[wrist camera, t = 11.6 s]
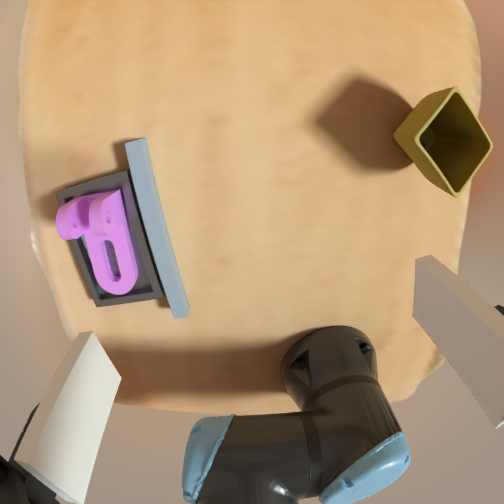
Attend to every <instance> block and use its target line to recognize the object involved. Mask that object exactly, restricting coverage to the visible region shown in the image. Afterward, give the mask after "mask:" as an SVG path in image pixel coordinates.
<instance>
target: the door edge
mask: <svg viewBox="0 0 504 504" xmlns="http://www.w3.org/2000/svg"><path fill="white" fill-rule="evenodd" d="M124 144H125V148H126V153H127V157H128V162H129V166H130V171H131V175H132V179H133V183H134V187H135V191H136V195H137V199H138V203H139V207H140V210H141V214H142V218H143V222H144V225H145V229H146V232H147V236H148V239H149V243H150V246H151V249H152V253H153V256H154V259H155V262H156V266H157V269H158V272H159V275H160V278H161V281H162V284H163V287H164V290H165V293H166V296H167V299H168V302H169V305H170V308H171V311H172V314H173V316H174V319H175V318H182V317H188V313H189V308H190V306H189V302H188V299H187V296H186V293H185V289H184V286H183V283H182V279H181V276H180V273H179V269H178V266H177V262H176V259H175V255H174V252H173V248H172V245H171V241H170V237H169V233H168V230H167V226H166V222H165V218H164V214H163V210H162V206H161V202H160V198H159V194H158V190H157V186H156V182H155V177H154V173H153V168H152V164H151V159H150V155H149V150H148V145H147V141H146V138H143V139H138V140H135V141H131V142H128V143H124Z"/></svg>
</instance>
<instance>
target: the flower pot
mask: <svg viewBox="0 0 504 504" xmlns="http://www.w3.org/2000/svg"><path fill="white" fill-rule="evenodd" d="M393 138H394V139H395V141H396V142H397V143H398V144H399V145H400V146H401V148H402V149H403V150H404V151H405V152H406V154H407V155H408V156H409V157H410V158H411V160H412V161H413V162H414V163H415V165H416V166H417V167H418V169H419V170H420V171H421V173H422V174H423V175H424V176H425V177H426V178H427V179H428V180H429V181H430V182H431V183H433V184H434V185H436V186H437V187H439V188H441V189H442V190H444V191H445V192H447V193H449V194H450V195H452V196H454V197H455V198H458V197H459V196H460V195H461V193H462V192H463V190H464V189H465V188H466V186H467V184H468V183H469V182H470V180H471V179H472V177H473V176H474V174H475V173H476V171H477V170H478V168H479V167H480V165H481V164H482V163H483V162H484V160H485V159H486V157H487V156H488V155H489V153H490V152H491V150H492V148H493V144H492V142H491V140H490V138H489V136H488V135H487V133H486V131H485V129H484V128H483V126H482V125H481V123H480V121H479V119H478V118H477V116H476V115H475V113H474V111H473V110H472V108H471V107H470V105H469V103H468V102H467V100H466V99H465V97H464V96H463V94H462V93H461V92H460V90H459V89H458V88H457V87H452V88H448V89H444V90H441V91H438V92H434V93H432V94H429V95H428V96H426V97H425V98H423V99H422V100H421V101H420V102H419V103H418V104H417V105H416V107H415V108H414V109H413V110H412V111H411V113H410V114H409V115H408V116H407V118H406V119H405V120H404V121H403V122H402V124H401V125H400V126H399V127H398V128H397V129H396V130H395V132H394V133H393ZM422 144H424V145H425V146H424V148H423V147H422Z"/></svg>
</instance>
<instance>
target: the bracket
mask: <svg viewBox="0 0 504 504" xmlns="http://www.w3.org/2000/svg"><path fill="white" fill-rule="evenodd" d="M56 228H57V231H58V234H59V236H60V237H61V238H62V239H63V240H71V239H77V238H79V237H80V236H81V235H83V234H84V236H85V240H86V244H87V248H88V252H89V256H90V260H91V263H92V267H93V270H94V274H95V277H96V280H97V282H98V283H99V285H100V286H101V287H102V288H103V289H104V290H106V291H107V292H109V293H112V294H116V295H121V294H125V293H127V292H129V291H130V290H131V289H132V288H133V286H134V284H135V282H136V280H137V277H138V269H137V265H136V260H135V256H134V251H133V246H132V242H131V237H130V232H129V227H128V221H127V216H126V210H125V205H124V199H123V193H122V188H120V189H113V190H107V191H101V192H95V193H89V194H84V195H80V196H78V197H77V198H75V199H73V200H71V201H69V202H68V203H66V204H64V205H62V206H61V207H60V208H59V209H58V211H57V214H56ZM105 240H109V241H111V242H112V244H113V245H114V249H115V253H116V258H117V262H118V266H119V270H120V274H121V277H117V276H115V275H114V274H113V273H112V271H111V267H110V264H109V260H108V256H107V252H106V247H105V243H104V241H105Z"/></svg>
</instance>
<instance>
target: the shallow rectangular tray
mask: <svg viewBox="0 0 504 504" xmlns="http://www.w3.org/2000/svg"><path fill="white" fill-rule="evenodd" d="M120 188H122V193H123V199H124V205H125V210H126V216H127V221H128V227H129V232H130V237H131V242H132V246H133V251H134V256H135V260H136V265H137V269H138V277H137V280H136V282H135V284H134V286H133V288H132V289H131V290H130V291H129V292H127V293H125V294H121V295H116V294H112V293H109V292H107V291H106V290H104V289H103V288H102V287H101V286H100V285H99V283H98V282H97V280H96V277H95V274H94V270H93V267H92V263H91V260H90V256H89V252H88V248H87V244H86V240H85V236H84V234H83V235H81V236H80V237H79V238H77V239H71V240H70V241H71V244H72V247H73V249H74V252H75V255H76V258H77V260H78V263H79V266H80V268H81V271H82V274H83V276H84V279H85V281H86V284H87V286H88V288H89V291H90V293H91V295H92V298H93V300H94V302H95V305H96V307H103V306H110V305H117V304H125V303H132V302H139V301H146V300H152V299H159V298H164V295H165V290H164V287H163V284H162V281H161V278H160V275H159V272H158V269H157V266H156V262H155V259H154V256H153V253H152V249H151V246H150V243H149V239H148V236H147V232H146V229H145V225H144V222H143V218H142V214H141V210H140V207H139V203H138V199H137V195H136V191H135V187H134V183H133V179H132V175H131V171H130V169H128V170H124V171H120V172H117V173H113V174H110V175H107V176H103V177H100V178H97V179H93V180H90V181H87V182H84V183H81V184H78V185H75V186H72V187H69V188H66V189H63V190H61V191H59V192H57V193H56V196H57V199H58V203H59V206H60V207H61V206H62V205H64V204H66V203H68V202H69V201H71V200H73V199H75V198H77V197H78V196H80V195H84V194H89V193H95V192H101V191H107V190H113V189H120ZM104 243H105V247H106V252H107V256H108V260H109V264H110V267H111V271H112V273H113V274H114V275H115V276H117V277H121V274H120V270H119V266H118V262H117V258H116V253H115V249H114V245H113V244H112V242H111V241H109V240H105V241H104Z"/></svg>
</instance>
